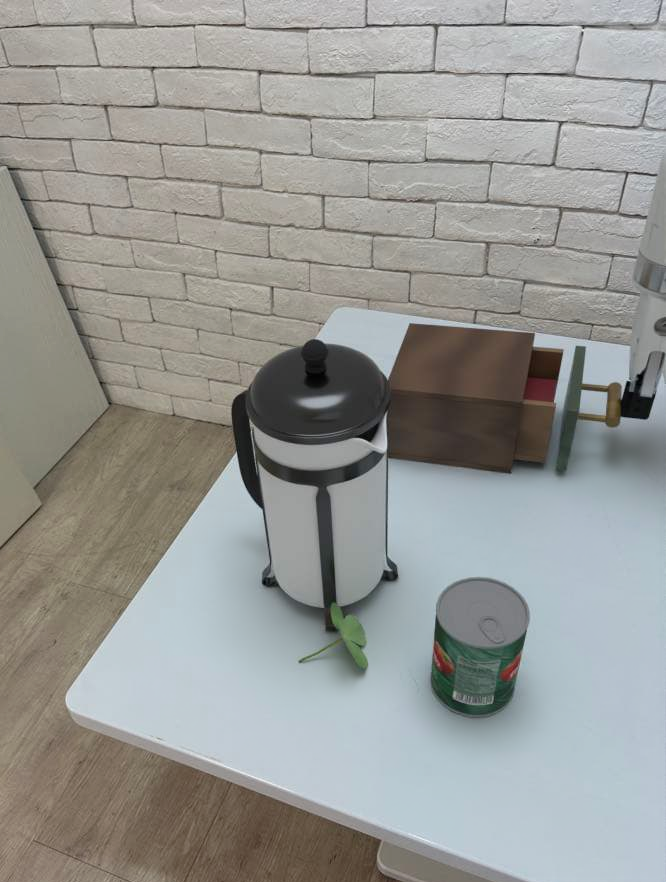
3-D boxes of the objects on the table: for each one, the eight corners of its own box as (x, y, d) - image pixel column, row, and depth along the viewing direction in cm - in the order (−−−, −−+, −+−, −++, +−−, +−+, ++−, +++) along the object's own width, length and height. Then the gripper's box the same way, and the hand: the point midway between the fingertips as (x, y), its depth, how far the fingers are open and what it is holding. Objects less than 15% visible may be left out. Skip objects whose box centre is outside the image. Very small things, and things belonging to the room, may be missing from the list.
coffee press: (397, 525, 93) (402, 286, 72) (399, 634, 82) (406, 391, 61) (250, 525, 95) (213, 295, 74) (232, 631, 84) (183, 396, 63)
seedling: (329, 680, 85) (381, 652, 82) (308, 705, 77) (365, 675, 75) (293, 622, 85) (344, 592, 83) (269, 641, 78) (324, 609, 75)
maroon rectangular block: (503, 401, 104) (507, 375, 101) (552, 406, 102) (557, 380, 99) (494, 443, 98) (497, 417, 95) (545, 450, 96) (550, 423, 94)
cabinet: (524, 403, 106) (535, 332, 99) (511, 473, 97) (522, 401, 90) (407, 390, 111) (409, 322, 103) (384, 457, 102) (384, 387, 94)
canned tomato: (417, 660, 79) (422, 588, 72) (492, 641, 80) (504, 567, 72) (449, 727, 74) (457, 657, 66) (529, 706, 75) (547, 633, 67)
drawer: (613, 409, 102) (628, 349, 96) (609, 477, 94) (625, 416, 87) (460, 393, 108) (465, 336, 102) (442, 456, 99) (447, 397, 93)
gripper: (719, 308, 75) (668, 458, 88) (712, 237, 85) (667, 381, 98) (633, 302, 78) (596, 449, 91) (636, 233, 87) (602, 375, 100)
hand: (633, 414), depth 94 cm, fingers closed
